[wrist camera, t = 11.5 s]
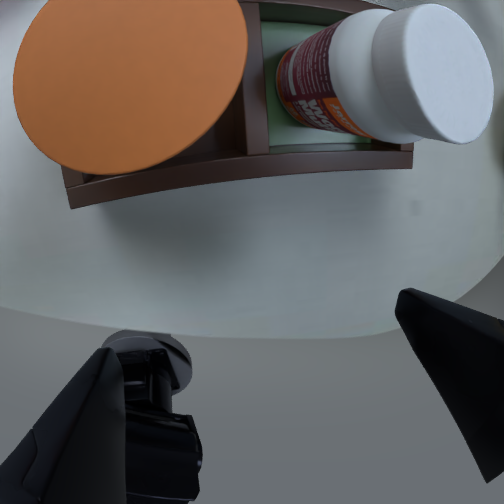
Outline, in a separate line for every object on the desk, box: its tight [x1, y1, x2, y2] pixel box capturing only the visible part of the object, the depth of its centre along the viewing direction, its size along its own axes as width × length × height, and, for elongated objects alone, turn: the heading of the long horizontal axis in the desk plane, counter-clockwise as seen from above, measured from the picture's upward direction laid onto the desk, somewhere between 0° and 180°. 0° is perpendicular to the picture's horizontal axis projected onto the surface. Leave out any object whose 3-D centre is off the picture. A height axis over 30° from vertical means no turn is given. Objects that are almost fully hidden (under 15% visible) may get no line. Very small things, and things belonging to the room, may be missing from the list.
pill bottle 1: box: [13, 0, 248, 175], centre depth 10 cm, size 6×6×11 cm
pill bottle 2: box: [275, 3, 494, 144], centre depth 11 cm, size 6×6×11 cm
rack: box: [61, 0, 414, 209], centre depth 14 cm, size 11×21×4 cm, turn 94°
